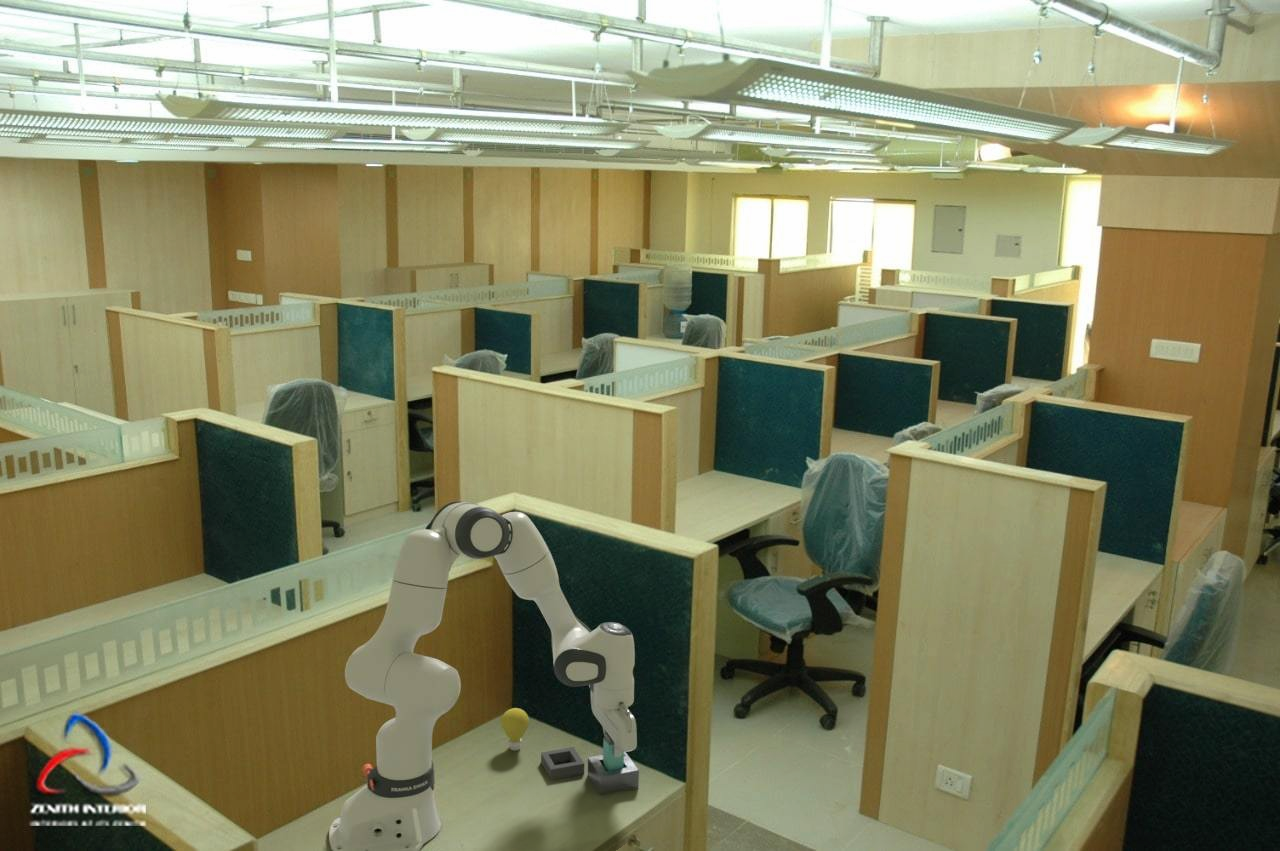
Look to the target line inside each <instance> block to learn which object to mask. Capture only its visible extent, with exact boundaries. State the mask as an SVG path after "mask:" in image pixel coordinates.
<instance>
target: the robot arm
mask: <svg viewBox="0 0 1280 851" xmlns="http://www.w3.org/2000/svg"><path fill="white" fill-rule="evenodd" d="M460 556H461V557H465V558H471V559H475V560H485V559H488V558H492V557H494V559H495V560H496V561H497V564H498V566H499V568H500V570H501V572H502V574H503V576H504V578H505V581H507V582H506V583H507V584H508V585H509V587H510V588H511V589H512V590H513V592H514V593H515V595H516V596H518V598H519V599H523V600H528V601H534V602H535V603H536V605H537V607H538V608H539V610H540V612H541V614H542V617H543V618H544V619H545V621H546V623H547V625H548V627H549V629H550V633H551V635H550V637H551V641H550V642H551V644H550V645H551V650H552V658H553V662H552V664H553V671H554V674H555V677H556V678H557V679H558V681H559V682H560V683H562V684H564V685H565V686H568V687H573V688H575V687H576V688H577V687H584V686H588V687H589V689H590V706H591V711H592V714H593V715H594V717H595V718H596V720H597V721H598V722H599V723H600V725H601V726H602V731H603V735H604V737H605V732H607V733H608V734H609V736H610V737H611V738H612V740H613V741H614V744H615V745H614V747H613V752H612V753H613V755H614V756H615V757H621V756H622V752H626V753H627V752H632V751H635V750H636V748H637V745H638V740H637V739H638V738H637V737H638V734H637V732H638V731H637V722H636V718H635V716H634V715H633V714H632V712H631V711H630V709H629V707H631V706H632V705H634V704H633V703H634V701H635V699H634V698H635V677H634V667H635V661H636V660H635V658H636V652H635V641H634V636H633V633H632V631H631V630H630V629H629V628H628V627H627V626H625V625H623V624H621V623H619V622H613V621H609V622H608V621H607V622H602V623H600V624H599V625H598V626H597V627H596V628H595V629H593V630H591V629H590V627H589V626H587V624H585V623H584V622H583V621H582V620H580V619H579V618H578V617H577V616H576V614H575V613H574V611H573V610H572V608H571V606H570V604H569V601H568V599H567V597H566V596H565V594H564V592H563V590H562V589H561V586H560V580H559V579H560V578H559V574H558V570H557V566H556V563H555V561H554V559H553V558H554V557H553V556H552V553H551V550H550V549H549V547H548V545H547V543H546V541H545V540H544V537H543V536H542V534H541V533H540V532H539V530H538V528H537V527H536V525H535V524H534V522H533V521H532V520H531V519H530V517H529V516H528V515H527V514H525V513H524V512H520V511H510V512H507V513H503V514H502V515H501V514H500V513H498V512H496V511H495V510H494V509H492V508H489V507H486V506H485V507H484V506H482V505H479V503H475V502H468V501H467V502H463V501H453V502H449V503H447V504H445V505H443V506H441V507H440V508H439V509H438V510H437V512H435V514H434V516H433V517H432V520H431V521H430V522H429V523H428V524H427V526H425V528H423V529H417V530H414V531H412V532H410V533H409V534H408V535H406V537H405V539H404V541H403V543H402V546H401V549H400V552H399V555H398V557H397V561H396V563H395V564H396V565H395V568H394V572H393V577H392V581H391V588H390V591H389V596H388V601H387V605H386V609H385V612H384V616H383V619H382V621H381V623H380V625H379V627H378V629H377V630H376V632H375V633H374V635H373V636H371V638H370V639H369V640H368V641H366V642H365V643H364V644H363V645H360V646H358V647H356V649H355V650H354V651H353V652H352V654H350V656H349V657H348V660H347V662H346V663H345V664H346V665H345V667H344V668H345V670H344V678H345V682H346V685H347V686H348V688H349V689H350V690H352V691H353V692H355V693H357V694H359V695H360V696H362V697H364V698H366V699H368V700H372V701H375V702H379V703H383V704H386V705H389V706H392V707H393V708H394V709H395V717H393V718H391V719H389V720H387V721H386V722H384V724H383V725H382V726H380V728H379V730H378V731H377V734H376V737H375V741H376V742H375V745H376V746H375V748H376V751H375V752H376V753H375V754H376V765H375V766H374V768H373V765H371V763H364V765H363V766H362V768H361V769H362V774H363V775H364V776H365V777H366V785H364V786H363V787H362V788H361V789H360V788H359V790H358V791H357V792H355V793H354V794H352V795H351V796H350V797H349V798H347V800H346V801H345V802H344V804H343V805H342V808H341V813H340V817H337V818H336V819H334V820H333V822H332V823H331V825H330V826H329V831H328V832H329V833H328V842H329V846H330V848H331V851H420V849H421V848H422V847H423V845H424V844H426V843H427V842H429V841H430V840H431V839H433V838H434V837H435V836H437V834H438V833H439V831H440V830H441V826H442V824H441V820H440V819H441V818H440V816H439V814H438V810H437V806H436V801H435V793H434V790H435V784H436V783H435V782H436V780H435V779H436V778H435V776H436V774H435V766H434V765H435V764H434V763H433V762H434V761H433V759H432V758H433V757H432V755H433V754H432V752H433V751H432V746H433V732H434V727H435V724H436V723H437V721H438V719H439V718H440V717H441V716H442V715H444V714H446V713H447V712H449V711H450V710H451V709H452V708H454V707H455V704H456V703H457V701H458V699H459V696H460V694H461V689H462V688H461V677H460V675H459V672H458V670H457V669H456V668H454V667H453V666H451V665H449V664H448V663H445V662H444V661H442V660H439V659H438V658H434V657H431V656H426V655H423V654H418V653H415V652H414V649H415V646H416V643H418V642H417V641H418V640H419V639H420V637H421V636H424V635H427V634H429V633H432V632H433V631H435V630H436V629H437V627H438V626H439V625H440V624H441V621H442V617H443V610H444V605H445V601H446V600H445V599H446V595H447V588H448V584H449V578H450V572H451V569H452V567H453V565H454V563H455V561H456V560H457V559H458V558H459V557H460Z"/></svg>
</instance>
